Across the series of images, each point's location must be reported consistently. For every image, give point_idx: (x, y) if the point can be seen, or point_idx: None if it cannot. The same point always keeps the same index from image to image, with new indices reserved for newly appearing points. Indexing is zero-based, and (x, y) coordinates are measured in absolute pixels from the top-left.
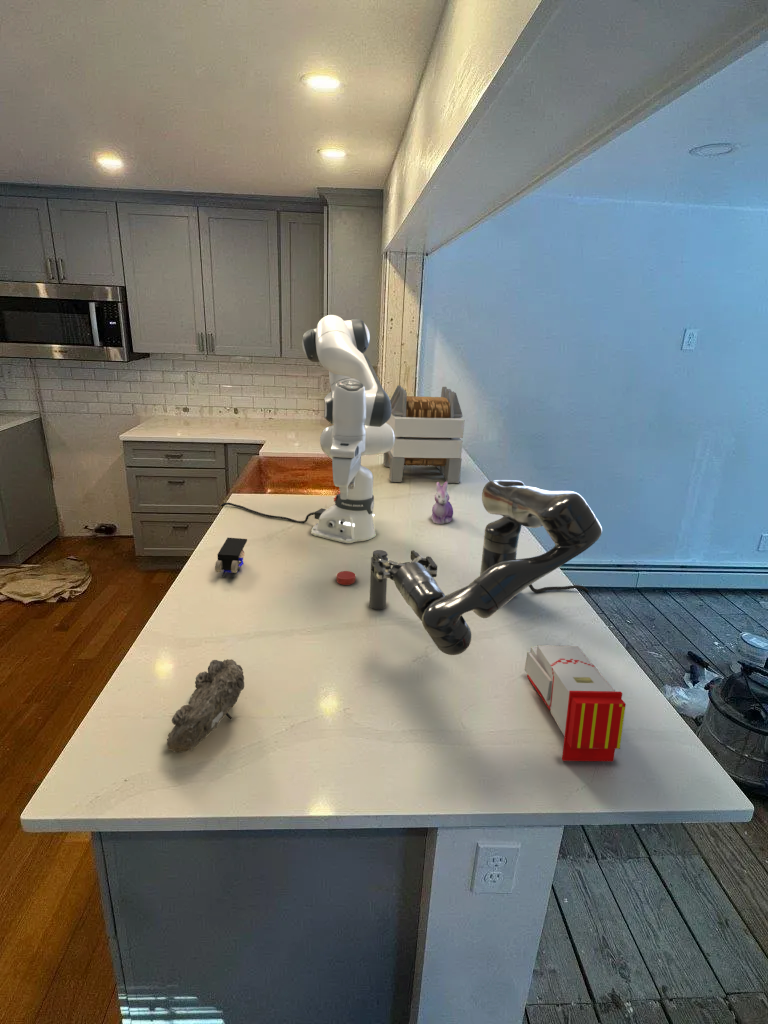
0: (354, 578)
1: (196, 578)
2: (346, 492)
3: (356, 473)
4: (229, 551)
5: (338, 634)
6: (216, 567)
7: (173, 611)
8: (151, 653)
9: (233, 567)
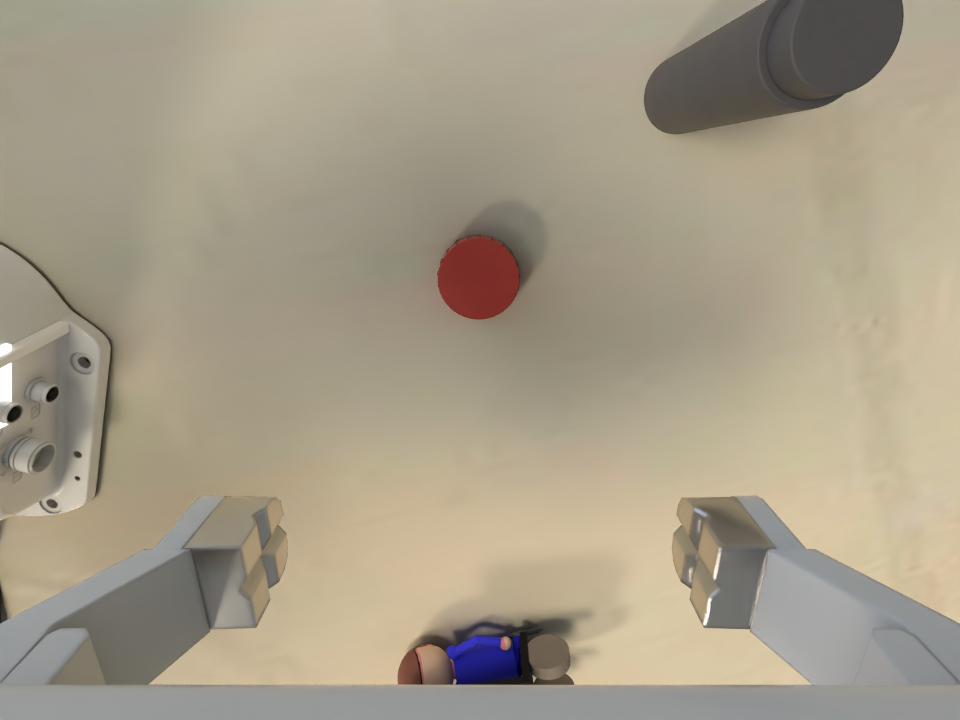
0: (488, 238)
1: None
2: (842, 569)
3: (168, 692)
4: None
5: (903, 216)
6: None
7: (753, 682)
8: None
9: (569, 658)
